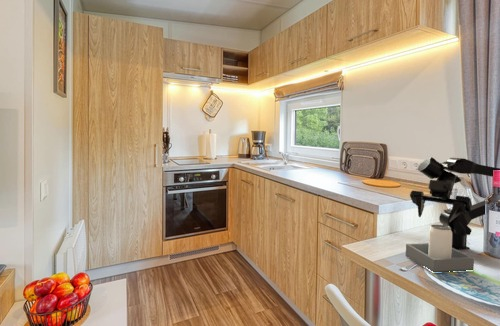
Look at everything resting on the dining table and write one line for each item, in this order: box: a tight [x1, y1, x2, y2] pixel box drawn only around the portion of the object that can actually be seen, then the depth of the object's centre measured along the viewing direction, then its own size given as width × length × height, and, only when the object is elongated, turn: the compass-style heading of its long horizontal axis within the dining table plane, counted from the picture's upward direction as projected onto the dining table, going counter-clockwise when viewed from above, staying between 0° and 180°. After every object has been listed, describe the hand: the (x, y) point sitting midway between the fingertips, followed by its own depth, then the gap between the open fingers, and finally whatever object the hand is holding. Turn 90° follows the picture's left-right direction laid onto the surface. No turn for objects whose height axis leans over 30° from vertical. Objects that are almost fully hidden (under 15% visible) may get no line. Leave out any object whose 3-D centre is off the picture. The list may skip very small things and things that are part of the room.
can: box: [428, 224, 452, 259], centre depth 94 cm, size 6×6×12 cm
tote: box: [405, 242, 475, 272], centre depth 94 cm, size 14×14×4 cm
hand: (433, 219), depth 100 cm, fingers open, 9 cm apart
